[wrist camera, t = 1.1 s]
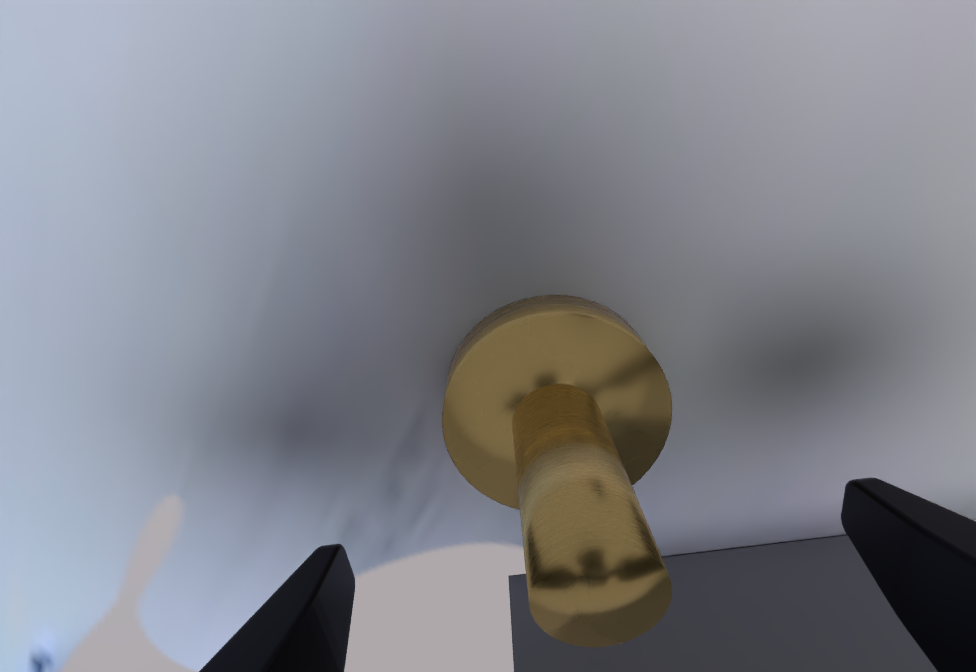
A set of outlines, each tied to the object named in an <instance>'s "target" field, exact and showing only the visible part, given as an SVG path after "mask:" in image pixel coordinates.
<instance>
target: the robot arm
mask: <svg viewBox="0 0 976 672" xmlns="http://www.w3.org/2000/svg"><path fill="white" fill-rule="evenodd" d="M841 521H842V525H843V528H844V530H845V532H846V534H847V535H848V537H849V539H850V540H851V542H852V544H853V545H854V547H855V548H856V550H857V552H858V553H859V555H860V557H861V558H862V560H863V562H864V563H865V565H866V567H867V568H868V570H869V571H870V573H871V575H872V576H873V578H874V580H875V581H876V583H877V585H878V586H879V588H880V590H881V591H882V593H883V594H884V596H885V598H886V599H887V601H888V603H889V604H890V606H891V607H892V609H893V610H894V612H895V613H896V615H897V617H898V618H899V619H900V621H901V622H902V624H903V625H904V626H905V628H906V629H907V631H908V632H909V633H910V635H911V636H912V637H913V639H914V640H915V642H916V643H917V644H918V646H919V647H920V648H921V650H922V651H923V652H924V654H925V655H926V656H927V658H928V659H929V660H930V662H931V663H932V664H933V666H934V667H935V669H936V670H937V671H938V672H976V521H973V520H971V519H969V518H967V517H964V516H962V515H960V514H957V513H955V512H953V511H951V510H948V509H946V508H944V507H941V506H939V505H937V504H935V503H932V502H930V501H928V500H925V499H923V498H921V497H919V496H916V495H914V494H912V493H909V492H907V491H905V490H903V489H900V488H898V487H896V486H893V485H891V484H889V483H887V482H884V481H882V480H879V479H877V478H863V479H855V480H851V481H849V482H848V483H847V484H846V487H845V493H844V500H843V506H842V512H841ZM354 592H355V578H354V574H353V571H352V568H351V565H350V563H349V560H348V557H347V554H346V551H345V549H344V547H343V546H342V545H341V544H333V545H325V546H320V547H319V548H317V549H316V550H315V551H314V552H313V553H312V554H311V555H310V556H309V557H308V558H307V559H306V560H305V561H304V563H303V564H302V565H301V566H300V567H299V568H298V569H297V570H296V571H295V572H294V573H293V574H292V575H291V576H290V577H289V578H288V579H287V580H286V581H285V582H284V583H283V584H282V586H281V587H280V588H279V589H278V590H277V591H276V592H275V593H274V594H273V595H272V596H271V597H270V598H269V599H268V600H267V601H266V602H265V603H264V604H263V605H262V606H261V607H260V609H259V610H258V611H257V612H256V613H255V614H254V615H253V616H252V617H251V618H250V619H249V620H248V621H247V622H246V623H245V624H244V625H243V626H242V627H241V628H240V629H239V630H238V632H237V633H236V634H235V635H234V636H233V637H232V638H231V639H230V640H229V641H228V642H227V643H226V644H225V645H224V646H223V647H222V648H221V649H220V650H219V651H218V652H217V653H216V655H215V656H214V657H213V658H212V659H211V660H210V661H209V662H208V663H207V664H206V665H205V666H204V667H203V668H202V669H201V670H200V671H199V672H344V668H345V660H346V653H347V645H348V638H349V631H350V623H351V615H352V608H353V600H354Z"/></svg>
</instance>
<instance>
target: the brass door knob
mask: <svg viewBox="0 0 976 672" xmlns="http://www.w3.org/2000/svg"><path fill="white" fill-rule="evenodd" d="M671 418H672V401H671V393H670V389H669V385H668V382H667V380H666V377H665V375H664V372H663V370H662V369H661V367H660V365H659V364H658V362H657V361H656V359H655V358H654V356H653V355H652V354H651V352H650V351H649V350H648V348H647V347H646V345H645V344H644V343H643V341H642V340H641V339H640V337H639V336H638V335H637V333H636V332H635V331H634V330H633V329H632V328H631V326H630V325H629V324H628V323H627V322H626V321H625V320H623V319H622V318H621V317H620V316H619V315H617V314H616V313H614V312H613V311H611V310H610V309H608V308H606V307H604V306H602V305H600V304H598V303H595V302H593V301H589V300H586V299H583V298H579V297H573V296H567V295H545V296H536V297H531V298H526V299H522V300H519V301H516V302H514V303H511V304H508V305H506V306H504V307H502V308H500V309H498V310H496V311H495V312H493V313H492V314H490V315H489V316H487V317H486V318H484V319H483V320H482V321H481V322H480V323H478V324H477V325H476V326H475V327H474V328H473V329H472V330H471V331H470V332H469V334H468V335H467V336H466V337H465V338H464V340H463V341H462V343H461V344H460V346H459V347H458V349H457V351H456V353H455V355H454V357H453V359H452V362H451V366H450V369H449V372H448V379H447V385H446V392H445V399H444V406H443V413H442V428H443V435H444V440H445V443H446V447H447V450H448V452H449V455H450V457H451V459H452V461H453V463H454V464H455V466H456V467H457V469H458V470H459V472H460V473H461V474H462V475H463V477H464V478H465V479H466V480H467V481H468V482H469V483H470V484H471V485H472V486H474V487H475V488H476V489H477V490H478V491H480V492H481V493H483V494H484V495H486V496H487V497H489V498H491V499H493V500H495V501H497V502H499V503H501V504H503V505H506V506H509V507H511V508H515V509H519V510H520V515H521V526H522V536H523V546H524V557H525V567H526V577H527V588H528V598H529V607H530V611H531V614H532V616H533V619H534V620H535V622H536V623H537V625H538V626H539V627H540V628H541V629H542V630H543V631H544V632H546V633H547V634H548V635H550V636H552V637H553V638H555V639H557V640H559V641H562V642H564V643H568V644H571V645H576V646H582V647H606V646H612V645H617V644H621V643H624V642H627V641H630V640H632V639H634V638H637V637H639V636H640V635H642V634H644V633H646V632H647V631H648V630H650V629H651V628H652V627H654V626H655V625H656V624H657V623H658V622H659V621H660V619H661V618H662V617H663V616H664V614H665V613H666V611H667V609H668V607H669V605H670V602H671V598H672V583H671V580H670V577H669V574H668V572H667V570H666V567H665V565H664V562H663V560H662V558H661V555H660V553H659V550H658V548H657V545H656V543H655V541H654V538H653V536H652V533H651V531H650V529H649V526H648V524H647V521H646V519H645V517H644V514H643V512H642V509H641V507H640V504H639V502H638V500H637V497H636V495H635V492H634V490H633V488H632V485H633V484H635V483H636V482H637V481H638V480H639V479H640V478H641V477H642V476H643V475H644V474H645V473H646V472H647V471H648V470H649V469H650V468H651V466H652V465H653V463H654V462H655V461H656V459H657V458H658V456H659V454H660V452H661V451H662V449H663V447H664V445H665V442H666V439H667V437H668V434H669V429H670V425H671Z"/></svg>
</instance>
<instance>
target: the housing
mask: <svg viewBox="0 0 976 672" xmlns="http://www.w3.org/2000/svg"><path fill="white" fill-rule="evenodd" d="M662 560H663V562H664V565H665V567H666V570H667V572H668V574H669V577H670V580H671V583H672V598H671V602H670V605H669V607H668V609H667V611H666V613H665V614H664V616H663V617H662V618H661V619H660V621H659V622H658V623H657V624H656V625H655V626H654V627H652V628H651V629H650V630H648V631H647V632H646V633H644V634H642V635H640V636H639V637H637V638H634V639H632V640H630V641H627V642H624V643H621V644H617V645H612V646H606V647H582V646H576V645H571V644H568V643H564V642H562V641H559V640H557V639H555V638H553V637H552V636H550V635H548V634H547V633H546V632H544V631H543V630H542V629H541V628H540V627H539V626H538V625H537V623H536V622H535V620H534V619H533V616H532V614H531V611H530V607H529V598H528V588H527V577H526V574H520V575H513V576H509V591H510V606H511V607H510V609H511V625H512V643H513V661H514V672H938V671H937V670H936V669H935V667H934V666H933V664H932V663H931V662H930V660H929V659H928V658H927V656H926V655H925V654H924V652H923V651H922V650H921V648H920V647H919V646H918V644H917V643H916V642H915V640H914V639H913V637H912V636H911V635H910V633H909V632H908V631H907V629H906V628H905V626H904V625H903V624H902V622H901V621H900V619H899V618H898V617H897V615H896V613H895V612H894V610H893V609H892V607H891V606H890V604H889V603H888V601H887V599H886V598H885V596H884V594H883V593H882V591H881V590H880V588H879V586H878V585H877V583H876V581H875V580H874V578H873V576H872V575H871V573H870V571H869V570H868V568H867V567H866V565H865V563H864V562H863V560H862V558H861V557H860V555H859V553H858V552H857V550H856V548H855V547H854V545H853V544H852V542H851V540H850V539H849V537H848V535H846V536H837V537H829V538H821V539H812V540H804V541H796V542H787V543H779V544H771V545H762V546H754V547H746V548H737V549H729V550H721V551H712V552H704V553H696V554H687V555H679V556H670V557H662Z"/></svg>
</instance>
